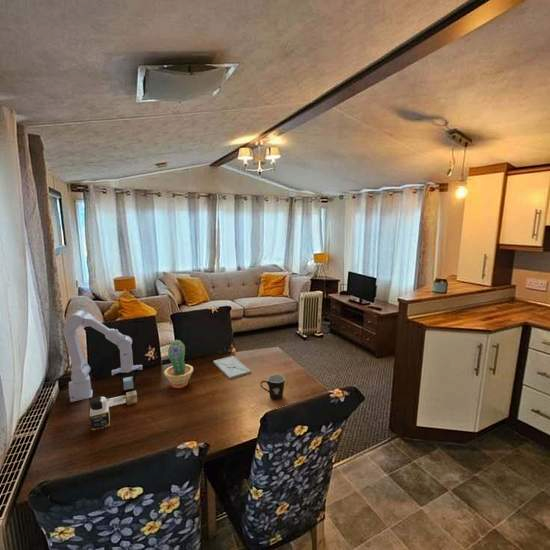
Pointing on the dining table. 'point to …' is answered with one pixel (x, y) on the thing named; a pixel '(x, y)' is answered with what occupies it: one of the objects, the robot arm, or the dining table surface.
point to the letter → (116, 400)
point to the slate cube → (128, 383)
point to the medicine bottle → (99, 413)
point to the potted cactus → (178, 365)
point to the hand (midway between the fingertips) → (128, 384)
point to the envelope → (231, 367)
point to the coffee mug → (275, 386)
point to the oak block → (131, 397)
